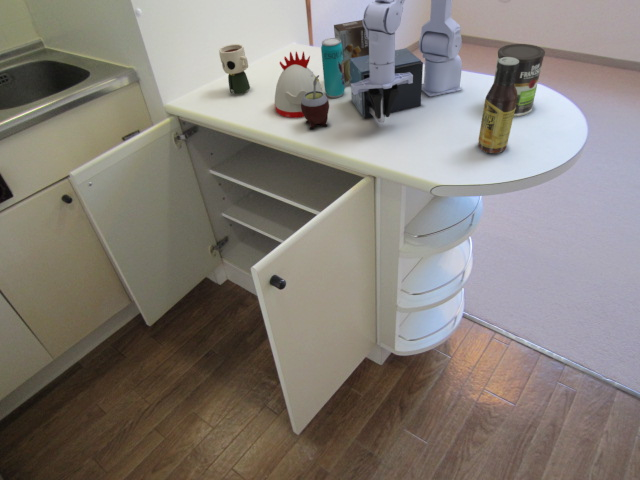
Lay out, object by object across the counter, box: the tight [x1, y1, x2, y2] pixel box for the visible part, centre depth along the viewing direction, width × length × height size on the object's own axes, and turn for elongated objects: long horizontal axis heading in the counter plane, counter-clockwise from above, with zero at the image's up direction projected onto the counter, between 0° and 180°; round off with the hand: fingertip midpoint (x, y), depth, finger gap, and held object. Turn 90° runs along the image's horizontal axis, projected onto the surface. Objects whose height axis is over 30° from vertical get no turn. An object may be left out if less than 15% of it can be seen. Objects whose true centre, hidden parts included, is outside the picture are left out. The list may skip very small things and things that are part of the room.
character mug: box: [218, 43, 251, 95], centre depth 137 cm, size 11×7×13 cm, turn 53°
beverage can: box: [320, 37, 346, 99], centre depth 129 cm, size 6×6×15 cm
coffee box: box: [333, 19, 369, 88], centre depth 134 cm, size 9×6×16 cm
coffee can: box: [493, 43, 546, 117], centre depth 113 cm, size 10×10×14 cm
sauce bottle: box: [478, 57, 519, 154], centre depth 98 cm, size 6×6×20 cm
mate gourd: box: [301, 74, 330, 131], centre depth 116 cm, size 8×8×15 cm
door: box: [363, 61, 424, 124], centre depth 116 cm, size 8×16×12 cm, turn 107°
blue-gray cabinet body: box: [350, 47, 422, 117], centre depth 123 cm, size 10×16×12 cm, turn 103°
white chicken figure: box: [274, 51, 324, 119], centre depth 125 cm, size 14×14×15 cm
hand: (382, 116), depth 114 cm, fingers closed, pressing on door
